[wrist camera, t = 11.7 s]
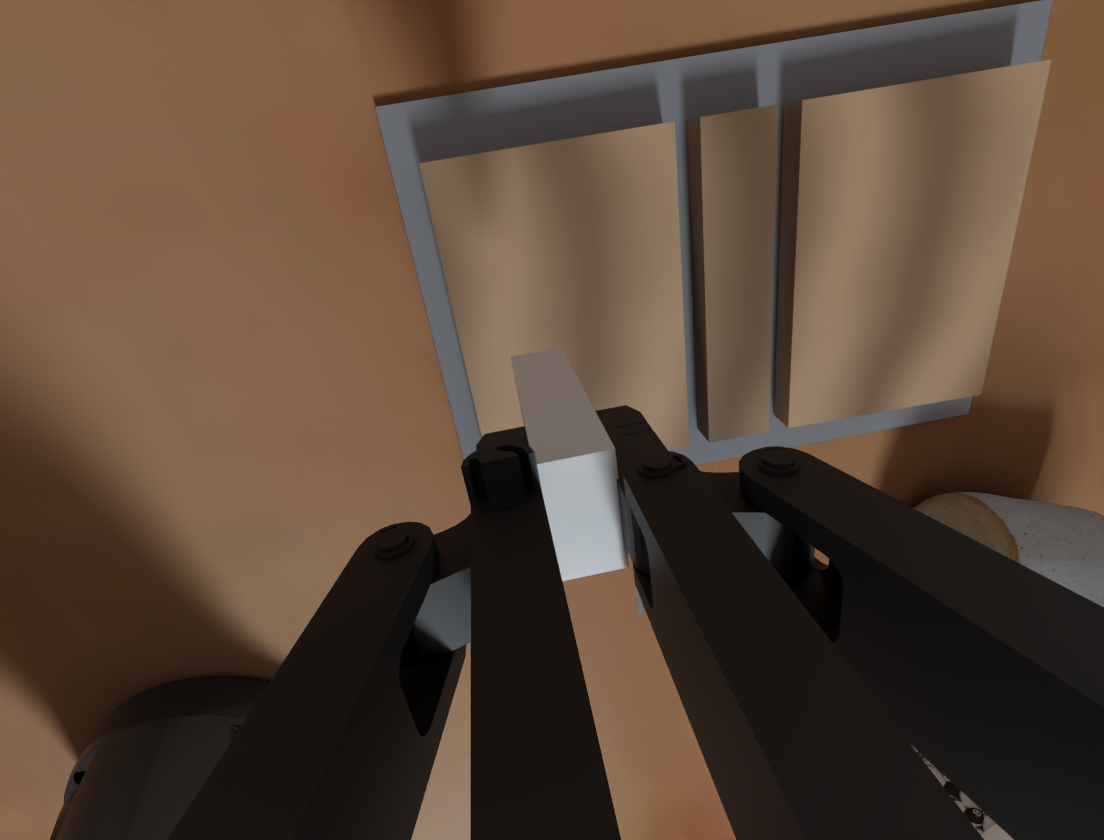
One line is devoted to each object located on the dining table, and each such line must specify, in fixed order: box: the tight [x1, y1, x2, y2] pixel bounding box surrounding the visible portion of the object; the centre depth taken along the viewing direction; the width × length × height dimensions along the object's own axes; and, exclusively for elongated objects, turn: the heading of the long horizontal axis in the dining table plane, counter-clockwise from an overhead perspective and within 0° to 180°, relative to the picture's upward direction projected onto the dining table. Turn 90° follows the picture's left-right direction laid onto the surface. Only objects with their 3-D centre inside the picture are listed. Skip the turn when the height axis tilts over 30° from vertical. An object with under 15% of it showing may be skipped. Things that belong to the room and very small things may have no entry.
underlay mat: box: [375, 0, 1053, 465], centre depth 23 cm, size 25×17×1 cm
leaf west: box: [419, 121, 689, 450], centre depth 22 cm, size 9×13×1 cm
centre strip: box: [686, 104, 778, 443], centre depth 22 cm, size 3×13×2 cm, turn 9°
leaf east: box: [774, 59, 1052, 428], centre depth 23 cm, size 9×13×1 cm
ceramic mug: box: [914, 492, 1104, 607], centre depth 28 cm, size 11×8×8 cm
